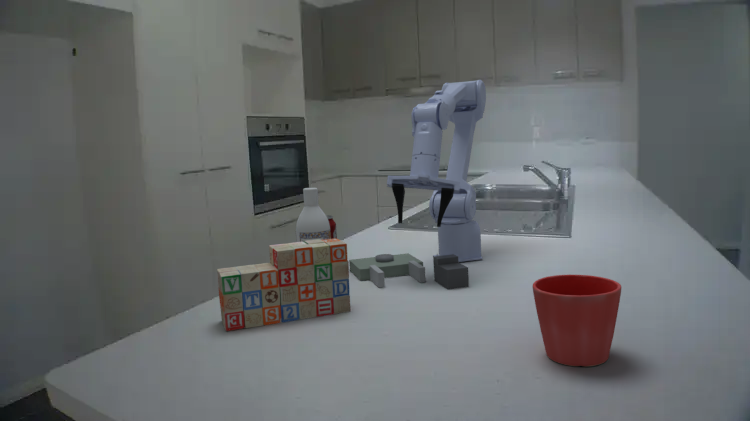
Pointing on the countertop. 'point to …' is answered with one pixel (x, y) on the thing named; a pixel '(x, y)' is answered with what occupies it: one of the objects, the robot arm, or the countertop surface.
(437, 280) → the grey block with ledge
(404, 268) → the forked grey-green block
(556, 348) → the flower pot
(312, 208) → the bath foam
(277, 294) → the stack of blocks
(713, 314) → the countertop surface
